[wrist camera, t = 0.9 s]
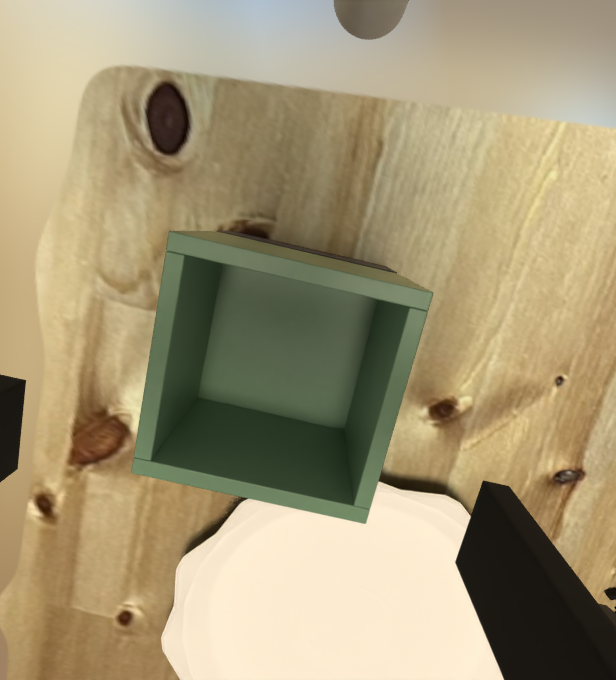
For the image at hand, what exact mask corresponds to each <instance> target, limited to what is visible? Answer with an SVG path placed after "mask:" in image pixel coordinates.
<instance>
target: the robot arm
mask: <svg viewBox="0 0 616 680" xmlns="http://www.w3.org/2000/svg"><path fill="white" fill-rule="evenodd" d="M25 384H26V380H22V379H18V378H13V377H9V376H4V375H0V482H1V481H2V480H4V479H5V478H6V477H8V476H9V475H10V474H12V473H13V472H14V471H15V470H17V469H18V458H19V447H20V437H21V426H22V416H23V405H24V394H25ZM455 564H456V566H457V568H458V571H459V573H460V576H461V578H462V580H463V583H464V585H465V587H466V590H467V592H468V595H469V597H470V599H471V602H472V604H473V607H474V609H475V611H476V614H477V616H478V619H479V621H480V623H481V626H482V628H483V631H484V633H485V635H486V638H487V640H488V643H489V645H490V647H491V650H492V652H493V655H494V657H495V659H496V662H497V664H498V666H499V669H500V671H501V674H502V676H503V678H504V680H616V613H615V612H613V611H612V610H611V609H610V608H609V607H608V606H606V605H602V604H598V603H597V602H596V600H595V599H594V598H593V596H592V595H591V594H590V592H589V591H588V590H587V588H586V587H585V586H584V584H583V583H582V582H581V580H580V579H579V578H578V577H577V575H576V574H575V573H574V571H573V570H572V569H571V567H570V566H569V565H568V563H567V562H566V561H565V559H564V558H563V557H562V555H561V554H560V553H559V551H558V550H557V549H556V548H555V546H554V545H553V544H552V542H551V541H550V540H549V538H548V537H547V536H546V534H545V533H544V532H543V530H542V529H541V528H540V526H539V525H538V524H537V522H536V521H535V520H534V519H533V517H532V516H531V515H530V513H529V512H528V511H527V509H526V508H525V507H524V505H523V504H522V503H521V501H520V500H519V499H518V497H517V496H516V495H515V493H514V492H513V491H512V490H511V488H510V487H509V486H506V485H501V484H496V483H492V482H487V481H483V482H482V485H481V488H480V491H479V494H478V497H477V500H476V503H475V506H474V509H473V512H472V514H471V517H470V520H469V523H468V526H467V529H466V532H465V535H464V538H463V541H462V544H461V547H460V549H459V552H458V555H457V558H456V561H455Z"/></svg>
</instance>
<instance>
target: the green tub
mask: <svg viewBox="0 0 616 680" xmlns="http://www.w3.org/2000/svg"><path fill="white" fill-rule="evenodd" d="M166 250H167V251H166V254H165V261H164V267H163V273H162V280H161V286H160V292H159V299H158V305H157V312H156V318H155V324H154V331H153V337H152V344H151V350H150V356H149V363H148V369H147V376H146V382H145V388H144V395H143V401H142V408H141V414H140V420H139V427H138V433H137V440H136V446H135V452H134V458H133V465H132V471H131V472H132V473H134V474H138V475H143V476H147V477H152V478H157V479H161V480H166V481H170V482H175V483H179V484H184V485H189V486H193V487H198V488H202V489H207V490H211V491H216V492H221V493H225V494H230V495H234V496H239V497H244V498H248V499H253V500H257V501H262V502H266V503H271V504H276V505H280V506H285V507H289V508H294V509H298V510H303V511H308V512H312V513H317V514H321V515H326V516H330V517H335V518H340V519H344V520H349V521H353V522H358V523H363V524H366V522H367V519H368V515H369V512H370V508H371V505H372V501H373V498H374V495H375V491H376V488H377V484H378V481H379V477H380V474H381V471H382V467H383V464H384V460H385V457H386V454H387V450H388V447H389V443H390V440H391V436H392V433H393V430H394V426H395V423H396V419H397V416H398V412H399V409H400V406H401V402H402V399H403V395H404V392H405V388H406V385H407V382H408V378H409V375H410V371H411V368H412V364H413V361H414V358H415V354H416V351H417V347H418V344H419V340H420V337H421V334H422V330H423V327H424V323H425V320H426V317H427V311H428V310H429V306H430V303H431V300H432V296H433V293H432V292H431V291H429V290H427V289H425V288H423V287H421V286H420V285H418V284H416V283H414V282H412V281H410V280H408V279H406V278H404V277H403V276H401V275H399V274H397V273H393V272H388V271H384V270H380V269H376V268H371V267H367V266H363V265H358V264H354V263H350V262H346V261H341V260H337V259H333V258H329V257H324V256H320V255H316V254H311V253H307V252H303V251H299V250H294V249H290V248H286V247H282V246H277V245H273V244H269V243H264V242H260V241H256V240H252V239H247V238H243V237H239V236H235V235H230V234H226V233H222V232H213V231H169V234H168V241H167V247H166Z"/></svg>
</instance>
